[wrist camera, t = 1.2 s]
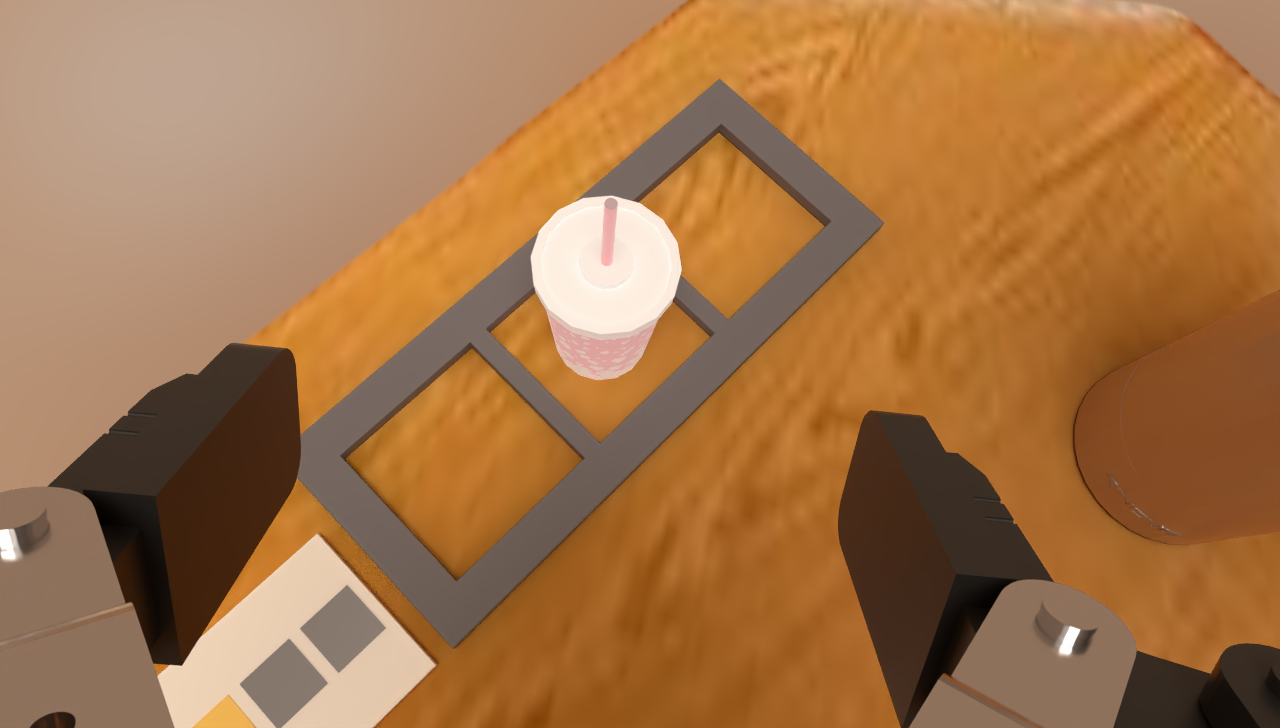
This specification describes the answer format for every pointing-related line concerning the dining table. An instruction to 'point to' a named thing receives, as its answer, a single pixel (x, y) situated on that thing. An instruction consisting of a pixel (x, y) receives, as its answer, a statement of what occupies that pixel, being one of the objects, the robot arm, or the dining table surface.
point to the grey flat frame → (603, 463)
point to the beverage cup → (604, 281)
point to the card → (299, 654)
